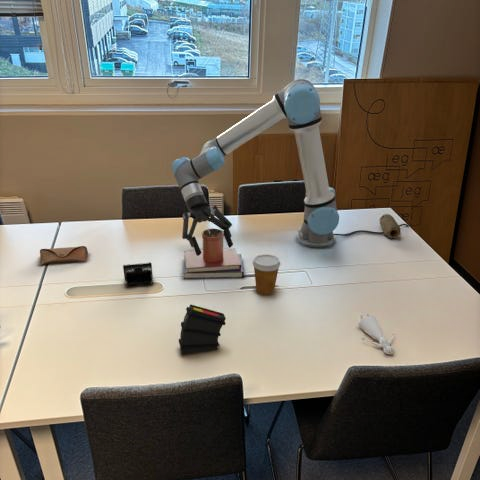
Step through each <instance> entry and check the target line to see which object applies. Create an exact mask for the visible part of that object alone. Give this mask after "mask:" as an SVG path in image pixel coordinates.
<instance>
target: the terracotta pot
mask: <svg viewBox="0 0 480 480" xmlns="http://www.w3.org/2000/svg"><path fill="white" fill-rule="evenodd" d="M223 231H224V230H222V229H220V228H219V229H218V228H207V229H204V230H203V231H202V232H201V239H202V250H203V259H204V260H205V261H207V262H219V261H221V260H223V249H224V239H225V237H224V232H223Z"/></svg>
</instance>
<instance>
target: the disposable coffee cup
mask: <svg viewBox="0 0 480 480" xmlns="http://www.w3.org/2000/svg"><path fill="white" fill-rule="evenodd" d="M252 266H253V271H254V282H255V290H256V293H257V294H259V295H264V296H268V295H271V294H273V293H275V288H276V283H277V278H278V274H279V268H280V266H281V262H280V259H279V257H277V256H276V255H272V254H259V255H256V256H255V257H254V259H253V261H252Z"/></svg>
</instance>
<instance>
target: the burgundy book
mask: <svg viewBox="0 0 480 480" xmlns="http://www.w3.org/2000/svg"><path fill="white" fill-rule="evenodd" d="M200 250H201V254H200V255H199V256H197V254H196V252H195V250H186V251H183V258H184V259H185V265H186V271H187V273H201V272H216V271H231V270H241V263H240V260H239V257H238V254H239V253H238V251H237V249H236V248H235V247H234V248H223V260H221V261H219V262H207V261H205V260H204V259H203V249H200ZM184 259H183V260H184Z"/></svg>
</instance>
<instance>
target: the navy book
mask: <svg viewBox="0 0 480 480" xmlns="http://www.w3.org/2000/svg"><path fill="white" fill-rule="evenodd" d="M237 254H238V257H239V260H240V263H241V270H231V271H216V272H201V273H187V271H186V265H185V259H183V273H182V275H183V280H212V279H215V280H216V279H218V280H219V279H244V275H245V272H244V264H243V258H242V257H243V256H242V253H237Z"/></svg>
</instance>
